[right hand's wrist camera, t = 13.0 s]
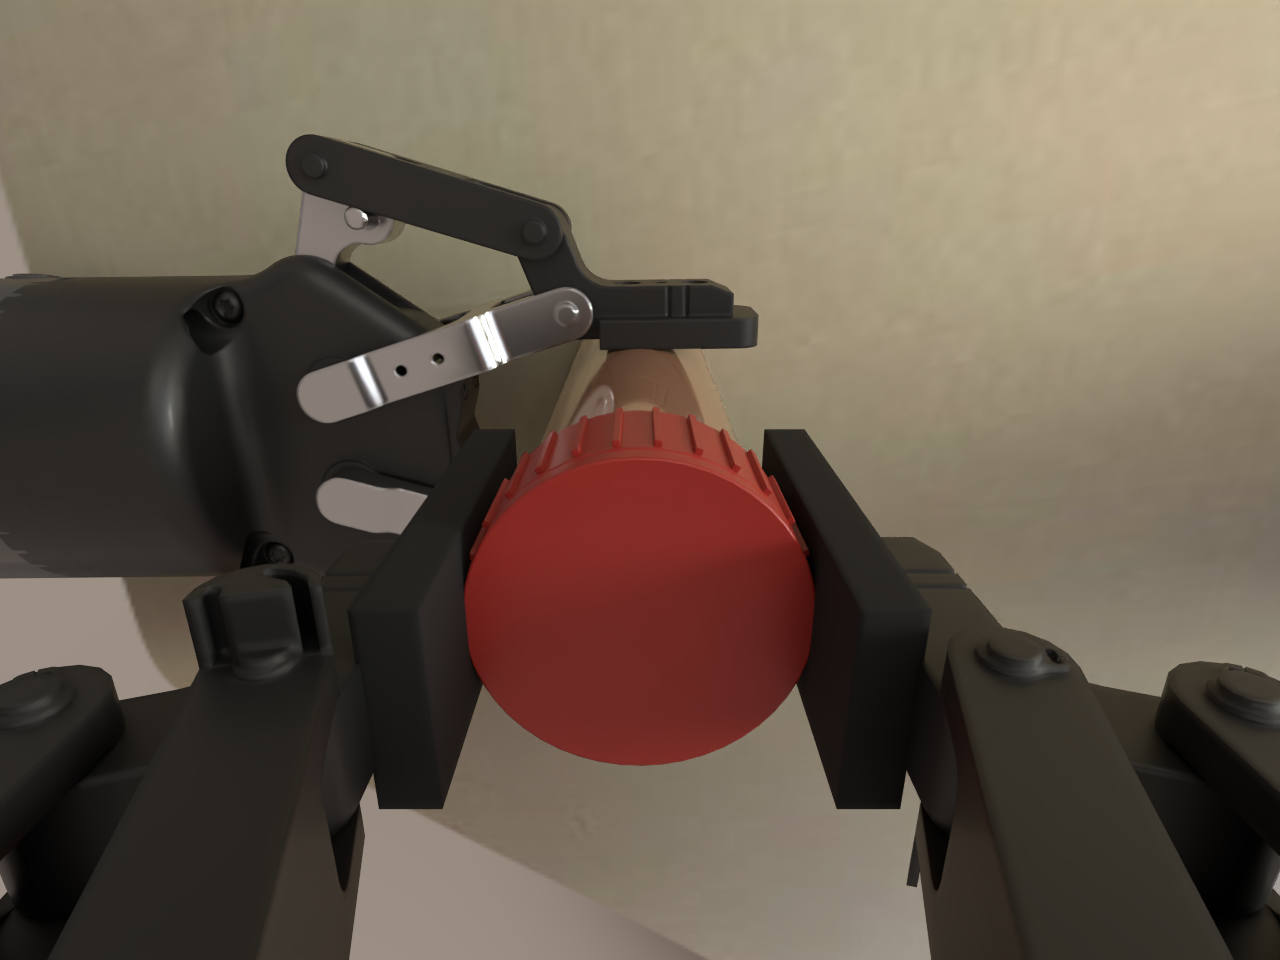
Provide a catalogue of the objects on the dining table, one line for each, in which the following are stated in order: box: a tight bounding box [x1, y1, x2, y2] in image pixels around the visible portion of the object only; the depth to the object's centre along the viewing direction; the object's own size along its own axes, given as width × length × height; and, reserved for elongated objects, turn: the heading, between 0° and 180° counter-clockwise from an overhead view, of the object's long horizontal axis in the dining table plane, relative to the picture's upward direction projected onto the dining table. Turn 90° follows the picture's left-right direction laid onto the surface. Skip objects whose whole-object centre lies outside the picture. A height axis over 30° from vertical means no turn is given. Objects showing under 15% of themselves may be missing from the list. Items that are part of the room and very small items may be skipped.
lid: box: [464, 407, 815, 766], centre depth 11 cm, size 5×5×2 cm
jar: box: [540, 339, 740, 446], centre depth 18 cm, size 4×4×16 cm
